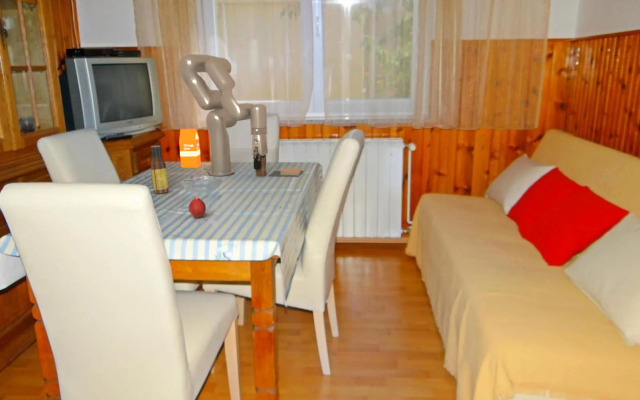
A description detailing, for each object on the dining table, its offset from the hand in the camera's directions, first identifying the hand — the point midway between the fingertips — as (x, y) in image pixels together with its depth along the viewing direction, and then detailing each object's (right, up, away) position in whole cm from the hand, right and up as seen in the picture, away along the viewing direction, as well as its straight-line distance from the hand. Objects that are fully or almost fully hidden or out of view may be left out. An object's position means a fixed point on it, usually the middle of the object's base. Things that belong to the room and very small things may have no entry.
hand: (260, 167), depth 247 cm
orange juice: (-41, +2, +32) cm, 52 cm away
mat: (+12, -4, +5) cm, 14 cm away
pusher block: (0, -5, +1) cm, 5 cm away
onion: (-14, -22, -65) cm, 70 cm away
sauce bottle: (-39, -13, -27) cm, 49 cm away
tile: (+10, -2, +6) cm, 12 cm away
